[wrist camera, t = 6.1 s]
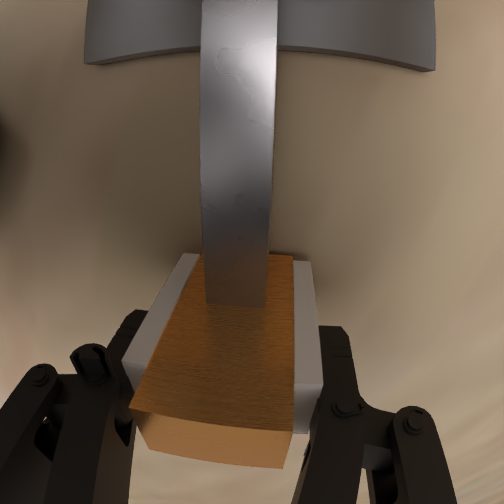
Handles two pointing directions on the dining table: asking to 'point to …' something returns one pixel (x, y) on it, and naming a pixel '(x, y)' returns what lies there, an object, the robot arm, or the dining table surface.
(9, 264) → the dining table surface
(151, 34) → the dock
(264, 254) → the lock pin
